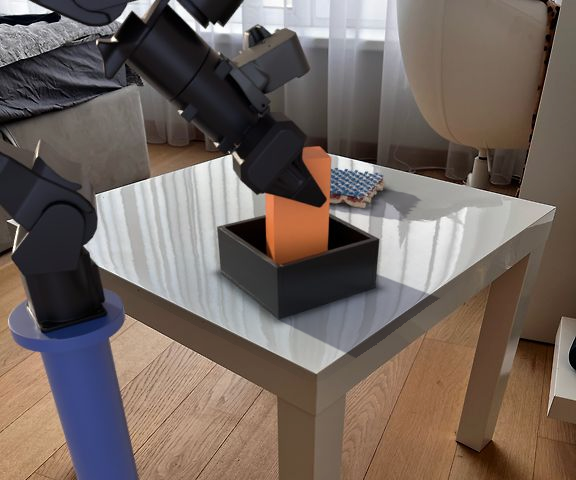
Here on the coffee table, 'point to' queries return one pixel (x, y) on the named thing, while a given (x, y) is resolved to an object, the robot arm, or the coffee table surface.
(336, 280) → the bin
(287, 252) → the block
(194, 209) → the coffee table surface
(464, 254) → the coffee table surface
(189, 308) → the coffee table surface
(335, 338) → the coffee table surface
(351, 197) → the woven mat
